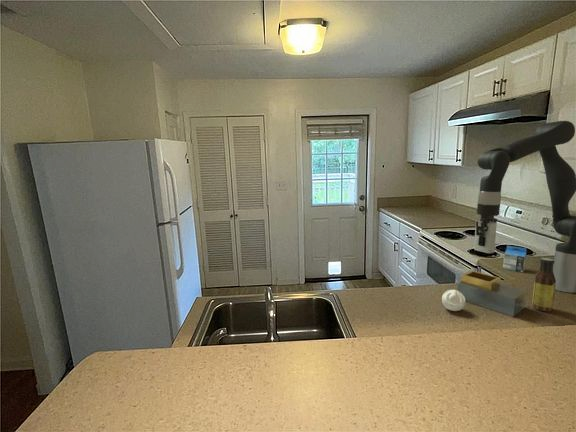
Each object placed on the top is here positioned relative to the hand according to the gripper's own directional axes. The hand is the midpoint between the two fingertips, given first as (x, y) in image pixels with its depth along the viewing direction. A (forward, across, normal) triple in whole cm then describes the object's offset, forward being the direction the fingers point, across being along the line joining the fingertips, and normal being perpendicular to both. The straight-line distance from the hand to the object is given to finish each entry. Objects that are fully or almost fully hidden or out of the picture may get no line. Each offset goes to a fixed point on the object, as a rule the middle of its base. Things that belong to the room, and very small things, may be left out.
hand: (484, 244), depth 123 cm
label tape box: (+24, -54, -5) cm, 59 cm away
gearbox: (+23, 0, +4) cm, 24 cm away
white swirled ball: (+24, +18, -2) cm, 30 cm away
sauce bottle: (+24, -10, +18) cm, 32 cm away
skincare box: (+3, 0, 0) cm, 3 cm away
